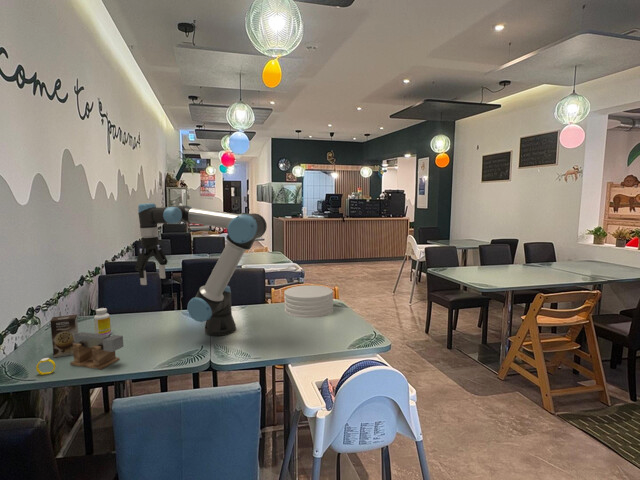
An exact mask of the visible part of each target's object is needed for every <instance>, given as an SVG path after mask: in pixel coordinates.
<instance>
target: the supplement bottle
mask: <svg viewBox="0 0 640 480" xmlns="http://www.w3.org/2000/svg"><path fill="white" fill-rule="evenodd" d="M95 313H96V314H95V315H94V317H93V321H94V331H95V333H94V334H102V335H110V336H111V334H112V326H111V317H110V314H109V313H108V309H107V308H106V307H105V308H104V307H100V308H97V309H95Z"/></svg>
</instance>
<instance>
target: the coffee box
mask: <svg viewBox="0 0 640 480" xmlns="http://www.w3.org/2000/svg"><path fill="white" fill-rule="evenodd" d="M49 324H50V332H51V342H52V355H53V358H60V357H65V356H74V354H73V344H75V338H74V335H76V334H78V333H79V321H78V314H71V315H61V316H53V317H52V318H51V319H50V323H49Z"/></svg>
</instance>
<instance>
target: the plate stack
mask: <svg viewBox="0 0 640 480" xmlns="http://www.w3.org/2000/svg"><path fill="white" fill-rule="evenodd" d="M283 294H284V296H283V297H284V313H285V314H286V315H288V316H291V317H295V318H303V319H306V318H307V319H309V318H311V319H312V318H319V317H320V318H321V317H325V316H328V315H329V314H332V313H333V312H334V308H333V307H334V306H333V305H334V299H333V298H334V295H333V294H334V290H333V289H332V288H330V287H327V286H322V285H314V284H311V285H309V284H308V285H297V286H292V287H288V288H287V289H284V291H283Z"/></svg>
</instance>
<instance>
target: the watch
mask: <svg viewBox="0 0 640 480" xmlns="http://www.w3.org/2000/svg"><path fill="white" fill-rule="evenodd" d="M47 362H49V363H51V364H52V366H53V368H52V369H51V371H46V372H43V371H41V370H40V367H39V365H40V364H41V363H47ZM56 367H57V366H56V363H55V361H54V360H52V359H51V358H50V357H45V358H44V357H43V358H41V359H40V361H39V362H37V364H36V367H35V368H36V372H37V373H38V374H39V375H42V376H43V375H51V374H52V373H53V372H54V371H55V369H56Z"/></svg>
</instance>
